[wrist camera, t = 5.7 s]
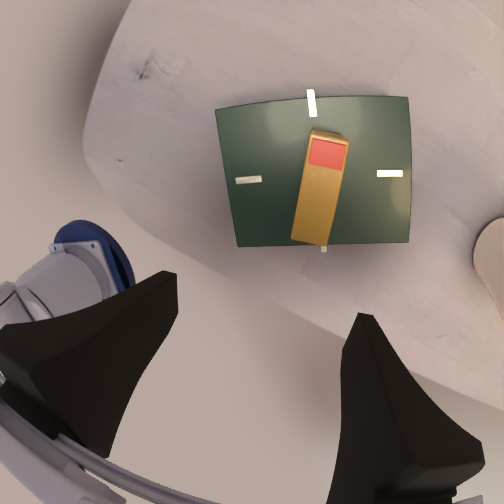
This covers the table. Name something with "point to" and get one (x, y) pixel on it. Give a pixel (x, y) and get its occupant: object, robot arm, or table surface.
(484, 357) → the table surface
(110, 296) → the robot arm
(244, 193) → the knob panel
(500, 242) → the drinking glass
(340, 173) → the yellow block
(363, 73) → the table surface
